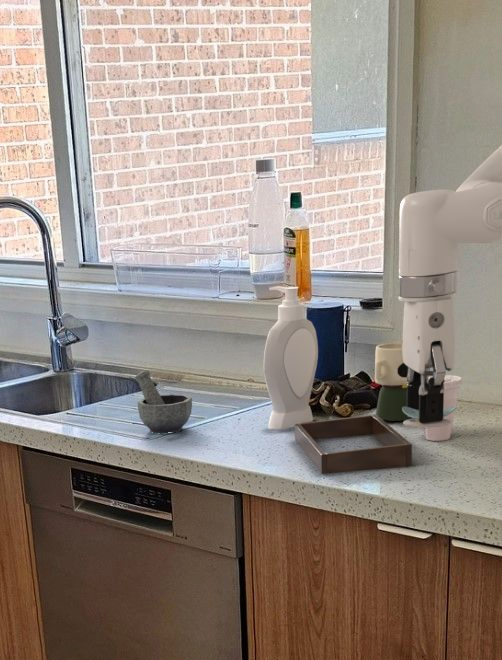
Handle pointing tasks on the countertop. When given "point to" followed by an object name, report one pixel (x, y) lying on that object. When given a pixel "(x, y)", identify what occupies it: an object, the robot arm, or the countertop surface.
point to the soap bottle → (290, 363)
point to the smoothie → (450, 401)
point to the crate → (388, 456)
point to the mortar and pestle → (162, 407)
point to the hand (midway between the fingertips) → (424, 415)
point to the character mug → (391, 381)
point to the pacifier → (416, 423)
